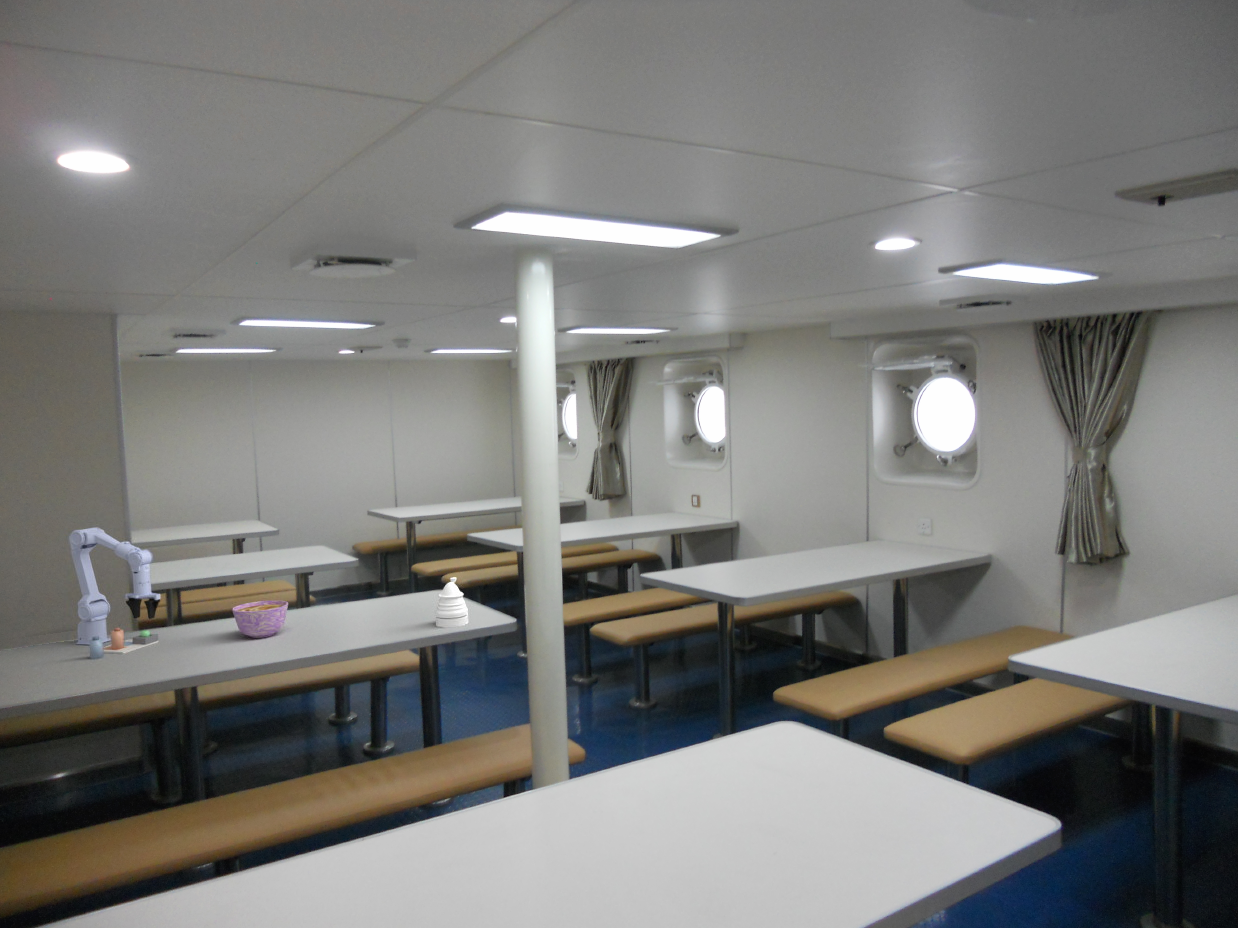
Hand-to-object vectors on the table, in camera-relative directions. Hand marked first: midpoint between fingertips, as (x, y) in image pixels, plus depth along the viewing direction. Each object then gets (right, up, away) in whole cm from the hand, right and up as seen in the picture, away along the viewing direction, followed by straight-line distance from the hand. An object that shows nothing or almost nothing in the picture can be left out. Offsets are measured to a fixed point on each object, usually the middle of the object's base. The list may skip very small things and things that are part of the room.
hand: (144, 617), depth 314 cm
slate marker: (-7, -11, -17) cm, 22 cm away
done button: (0, -8, 0) cm, 8 cm away
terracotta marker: (-5, -10, -7) cm, 13 cm away
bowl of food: (+41, -8, +8) cm, 43 cm away
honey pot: (+113, -6, +17) cm, 115 cm away
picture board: (-5, -10, -3) cm, 12 cm away
